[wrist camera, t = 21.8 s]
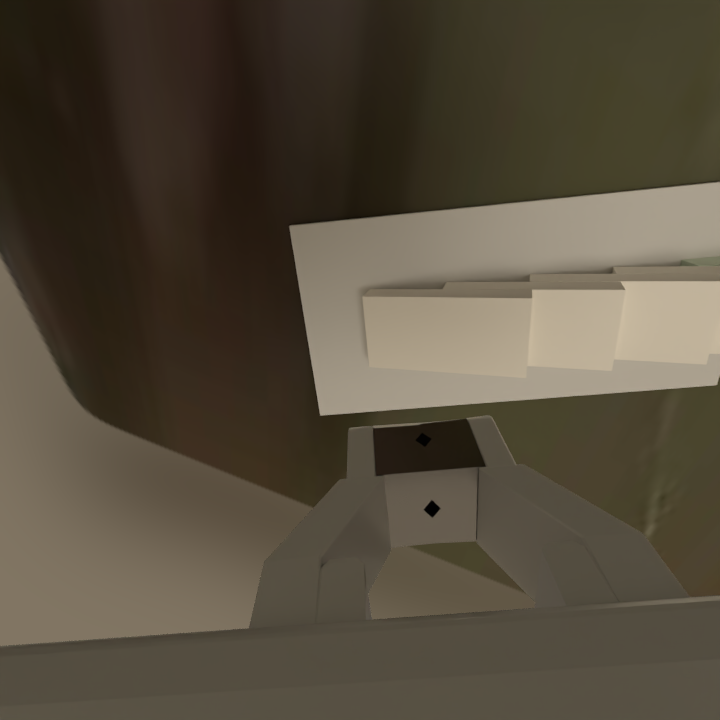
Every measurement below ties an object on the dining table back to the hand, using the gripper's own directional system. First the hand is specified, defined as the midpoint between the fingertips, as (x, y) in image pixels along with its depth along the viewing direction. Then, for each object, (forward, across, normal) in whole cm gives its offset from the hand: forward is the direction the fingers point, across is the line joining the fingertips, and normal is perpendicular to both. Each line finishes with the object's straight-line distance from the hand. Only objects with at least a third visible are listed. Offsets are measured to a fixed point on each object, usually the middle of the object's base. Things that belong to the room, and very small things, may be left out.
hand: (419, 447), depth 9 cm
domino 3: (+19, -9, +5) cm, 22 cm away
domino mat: (+20, -9, +5) cm, 23 cm away
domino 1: (+20, +1, +5) cm, 20 cm away
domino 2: (+19, -4, +5) cm, 20 cm away
